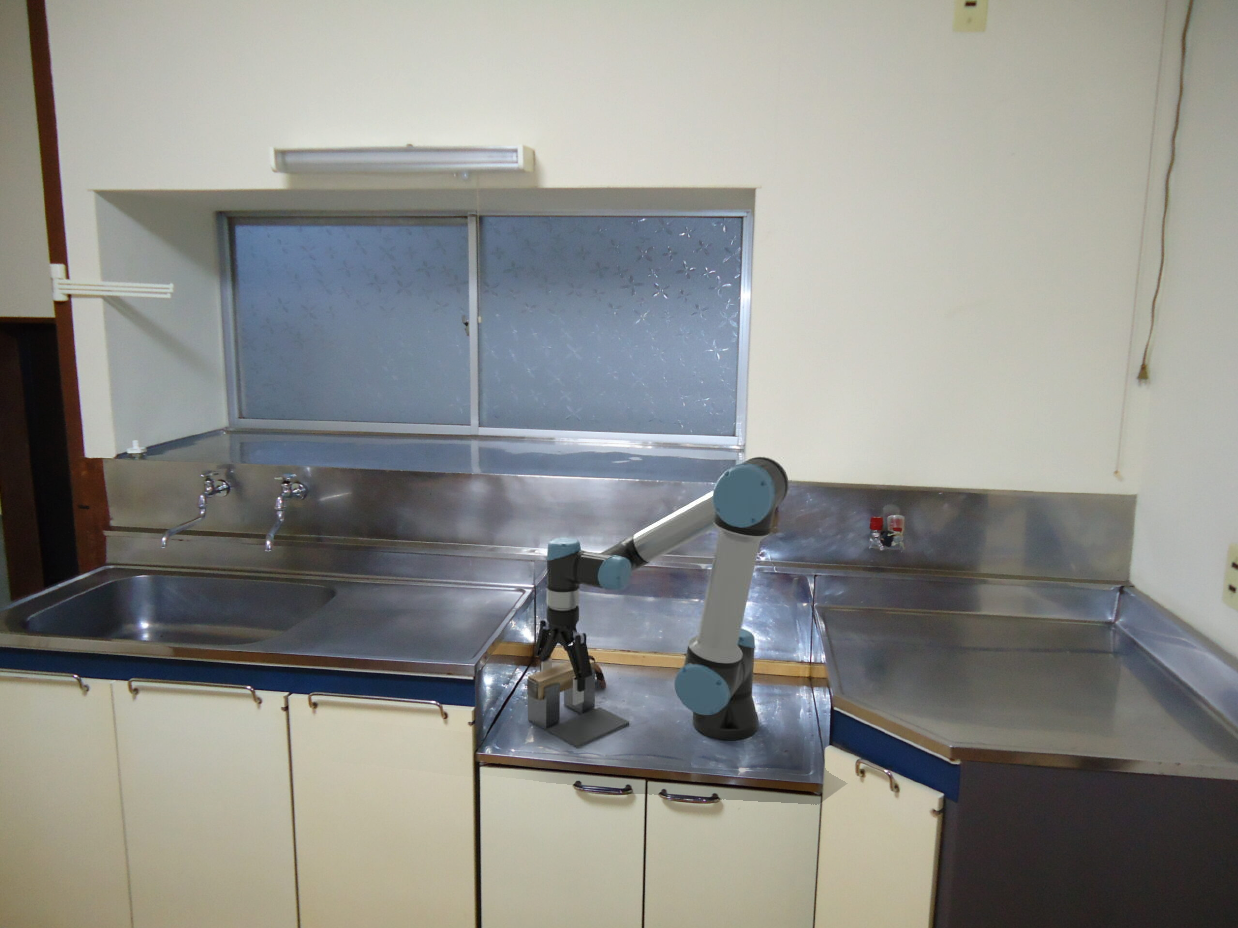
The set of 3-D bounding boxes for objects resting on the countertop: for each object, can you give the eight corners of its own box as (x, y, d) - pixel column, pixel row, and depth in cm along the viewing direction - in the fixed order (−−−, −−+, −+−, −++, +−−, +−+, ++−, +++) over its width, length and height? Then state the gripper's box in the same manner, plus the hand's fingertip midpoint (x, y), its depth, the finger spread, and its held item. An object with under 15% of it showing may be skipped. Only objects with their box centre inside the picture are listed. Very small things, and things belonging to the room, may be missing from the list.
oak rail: (596, 678, 195) (596, 660, 194) (537, 701, 182) (537, 682, 182) (585, 672, 198) (585, 655, 197) (525, 695, 185) (526, 676, 185)
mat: (629, 723, 187) (629, 721, 187) (577, 747, 176) (577, 745, 176) (599, 708, 194) (599, 706, 194) (547, 731, 183) (548, 728, 183)
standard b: (559, 724, 187) (559, 683, 185) (546, 729, 184) (546, 688, 182) (541, 714, 191) (541, 674, 190) (527, 719, 188) (528, 679, 187)
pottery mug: (607, 696, 202) (592, 672, 200) (574, 708, 205) (558, 684, 202) (610, 665, 213) (596, 642, 210) (579, 677, 216) (564, 654, 213)
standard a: (594, 709, 194) (595, 669, 193) (582, 714, 192) (582, 674, 190) (576, 699, 199) (576, 661, 197) (563, 704, 196) (564, 665, 194)
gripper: (609, 614, 181) (607, 706, 185) (543, 589, 198) (542, 674, 201) (584, 622, 176) (583, 717, 180) (519, 595, 192) (518, 683, 196)
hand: (561, 694), depth 191 cm, fingers open, 11 cm apart
